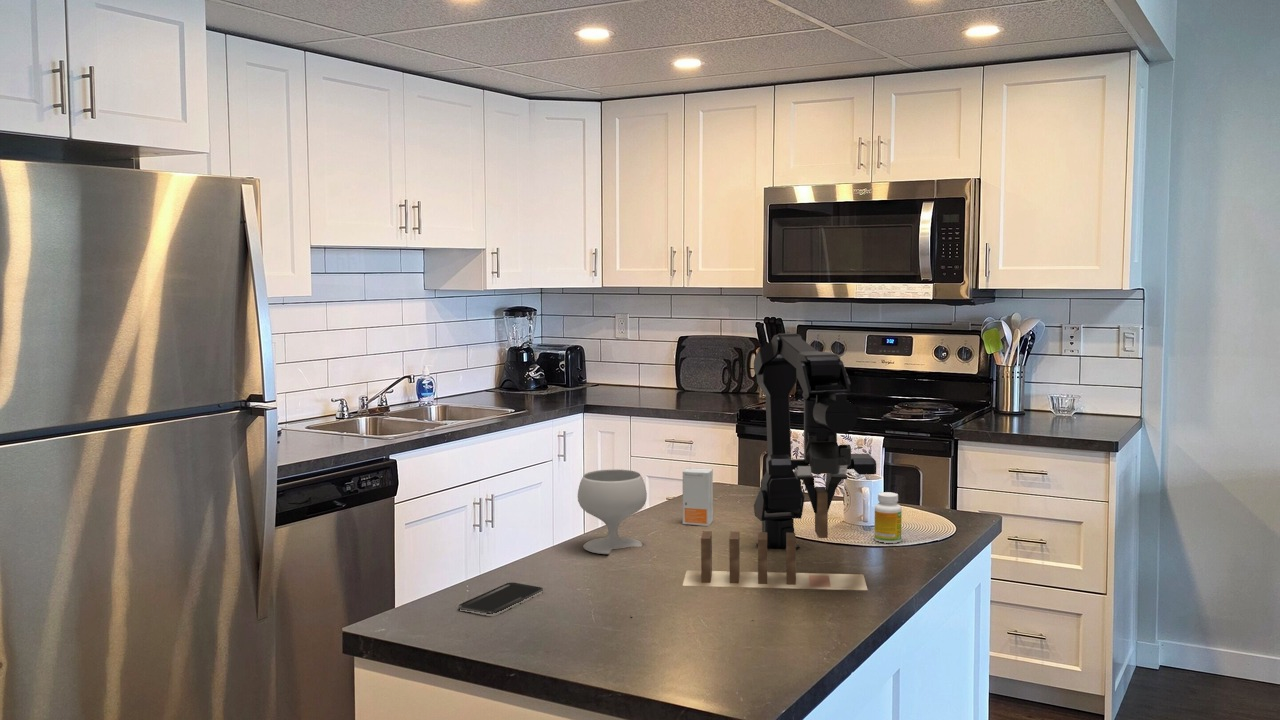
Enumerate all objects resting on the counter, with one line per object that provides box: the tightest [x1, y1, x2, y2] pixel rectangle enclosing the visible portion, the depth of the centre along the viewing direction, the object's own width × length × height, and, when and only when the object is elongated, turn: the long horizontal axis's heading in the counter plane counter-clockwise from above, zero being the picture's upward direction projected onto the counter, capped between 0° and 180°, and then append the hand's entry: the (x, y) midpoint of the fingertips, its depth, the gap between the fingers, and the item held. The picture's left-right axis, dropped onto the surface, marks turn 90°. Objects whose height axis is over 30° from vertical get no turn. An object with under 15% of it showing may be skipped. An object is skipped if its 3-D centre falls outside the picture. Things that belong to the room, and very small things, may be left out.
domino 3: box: [757, 531, 768, 584], centre depth 188 cm, size 2×5×8 cm, turn 173°
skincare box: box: [682, 467, 714, 527], centre depth 232 cm, size 6×4×12 cm
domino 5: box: [814, 486, 829, 539], centre depth 186 cm, size 2×5×8 cm, turn 178°
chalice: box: [577, 468, 648, 555], centre depth 213 cm, size 14×14×15 cm
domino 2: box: [728, 531, 741, 583], centre depth 188 cm, size 2×5×8 cm, turn 172°
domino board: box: [682, 569, 869, 591], centre depth 188 cm, size 32×9×1 cm, turn 83°
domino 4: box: [785, 532, 797, 585], centre depth 187 cm, size 2×5×8 cm, turn 173°
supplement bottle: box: [873, 491, 903, 544], centre depth 216 cm, size 5×5×10 cm
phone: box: [458, 582, 544, 614], centre depth 182 cm, size 8×1×15 cm
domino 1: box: [700, 530, 713, 583], centre depth 189 cm, size 2×5×8 cm, turn 173°
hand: (820, 512), depth 187 cm, fingers closed on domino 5, 2 cm apart
